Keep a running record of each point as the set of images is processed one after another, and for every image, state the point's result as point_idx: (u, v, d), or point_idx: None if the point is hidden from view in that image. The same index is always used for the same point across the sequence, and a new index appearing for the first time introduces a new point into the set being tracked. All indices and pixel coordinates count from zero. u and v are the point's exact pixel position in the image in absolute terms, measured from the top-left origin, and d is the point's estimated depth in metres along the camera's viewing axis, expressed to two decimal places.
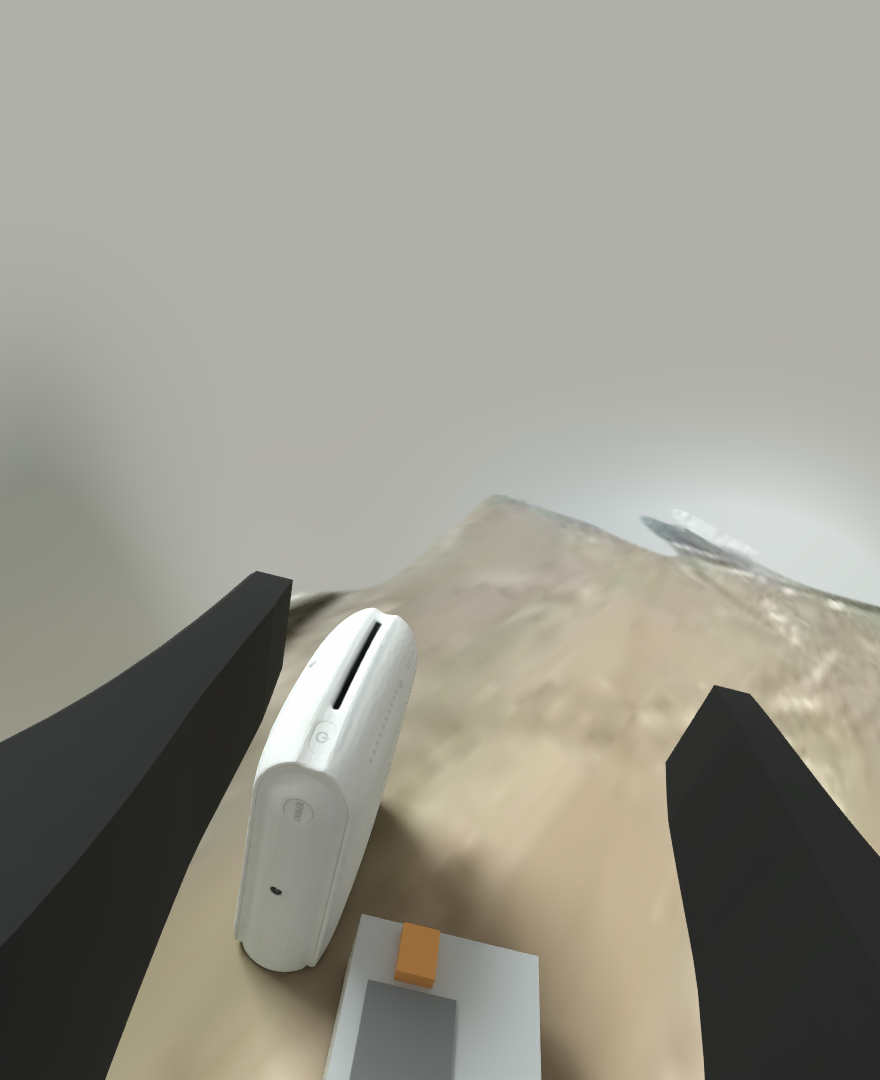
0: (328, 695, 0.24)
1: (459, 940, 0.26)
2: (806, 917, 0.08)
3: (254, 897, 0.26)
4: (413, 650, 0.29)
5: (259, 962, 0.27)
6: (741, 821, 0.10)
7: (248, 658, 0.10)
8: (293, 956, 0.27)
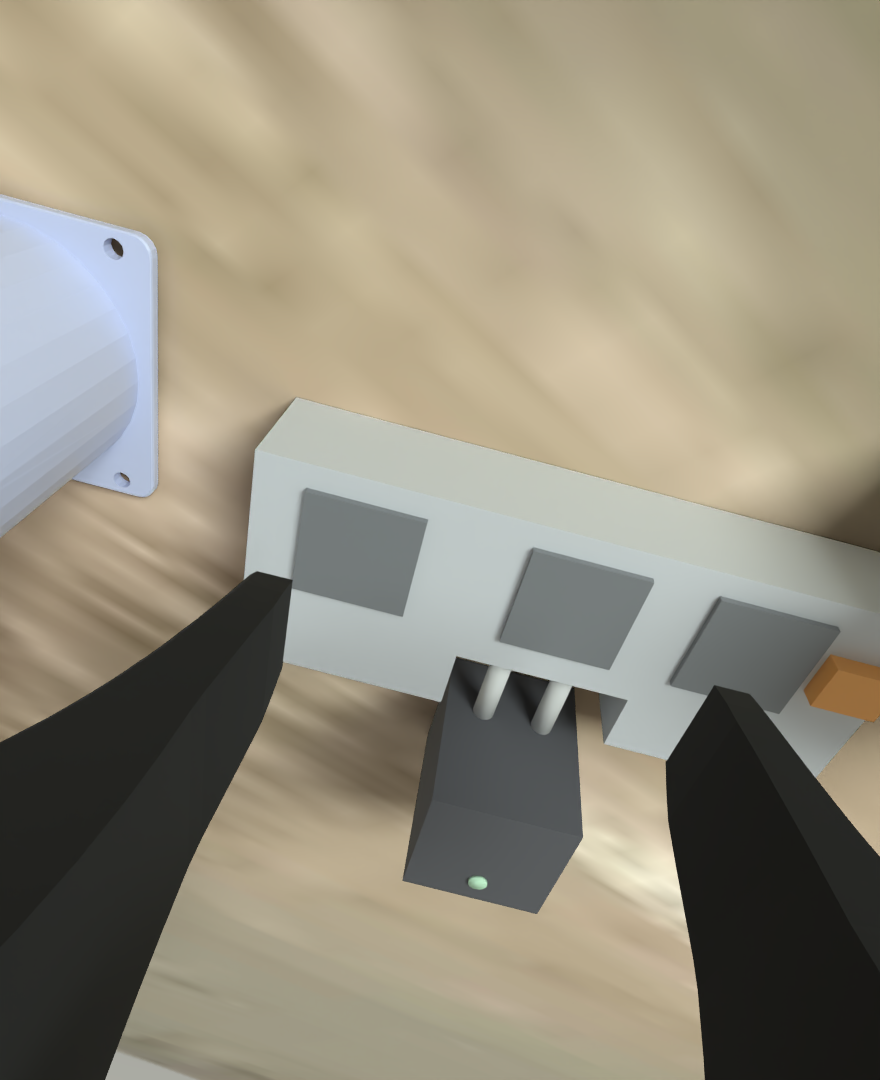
0: None
1: (853, 727, 0.20)
2: (806, 917, 0.08)
3: None
4: None
5: None
6: (741, 821, 0.10)
7: (248, 659, 0.10)
8: None
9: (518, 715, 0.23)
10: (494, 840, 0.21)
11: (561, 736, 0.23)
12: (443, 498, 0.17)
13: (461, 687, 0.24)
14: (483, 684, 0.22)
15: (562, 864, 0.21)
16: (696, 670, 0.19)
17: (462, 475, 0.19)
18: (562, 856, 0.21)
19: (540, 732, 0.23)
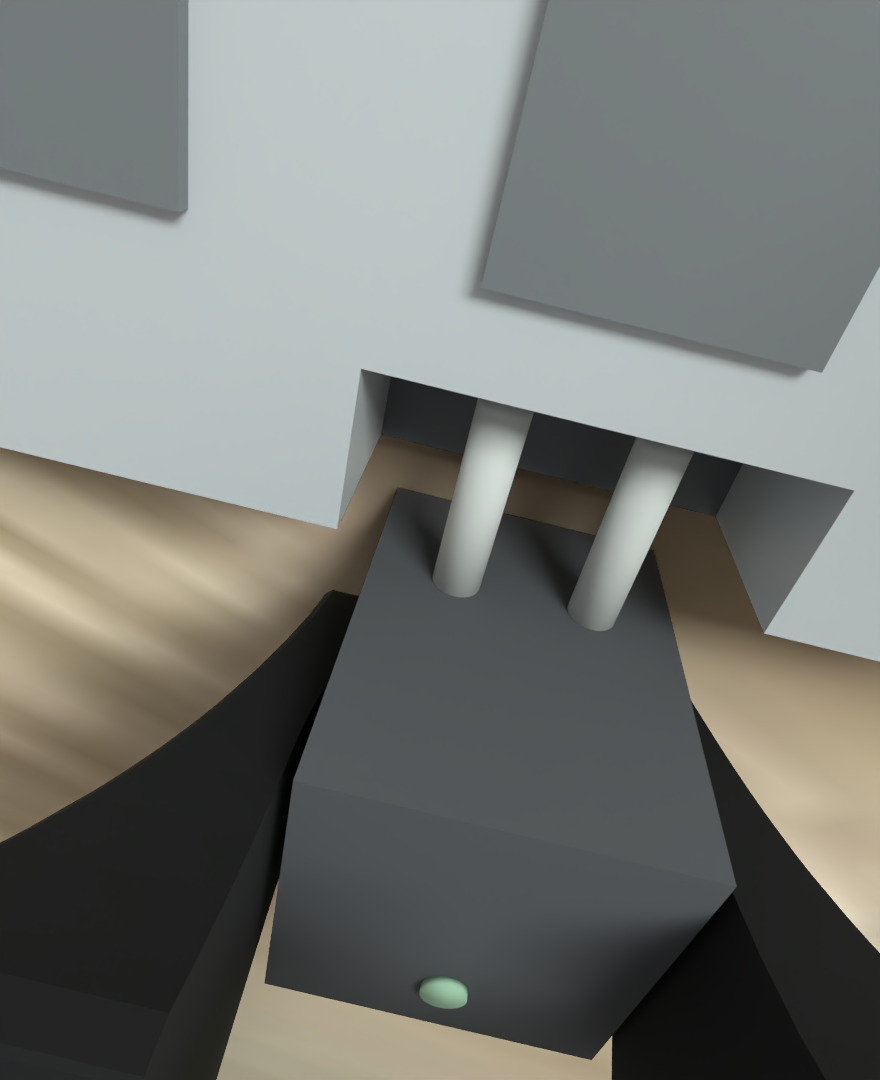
0: None
1: None
2: None
3: None
4: None
5: None
6: None
7: None
8: None
9: (538, 592, 0.10)
10: (480, 892, 0.07)
11: (640, 635, 0.10)
12: None
13: (409, 536, 0.11)
14: (452, 504, 0.09)
15: (667, 955, 0.08)
16: None
17: None
18: (669, 935, 0.07)
19: (591, 625, 0.10)
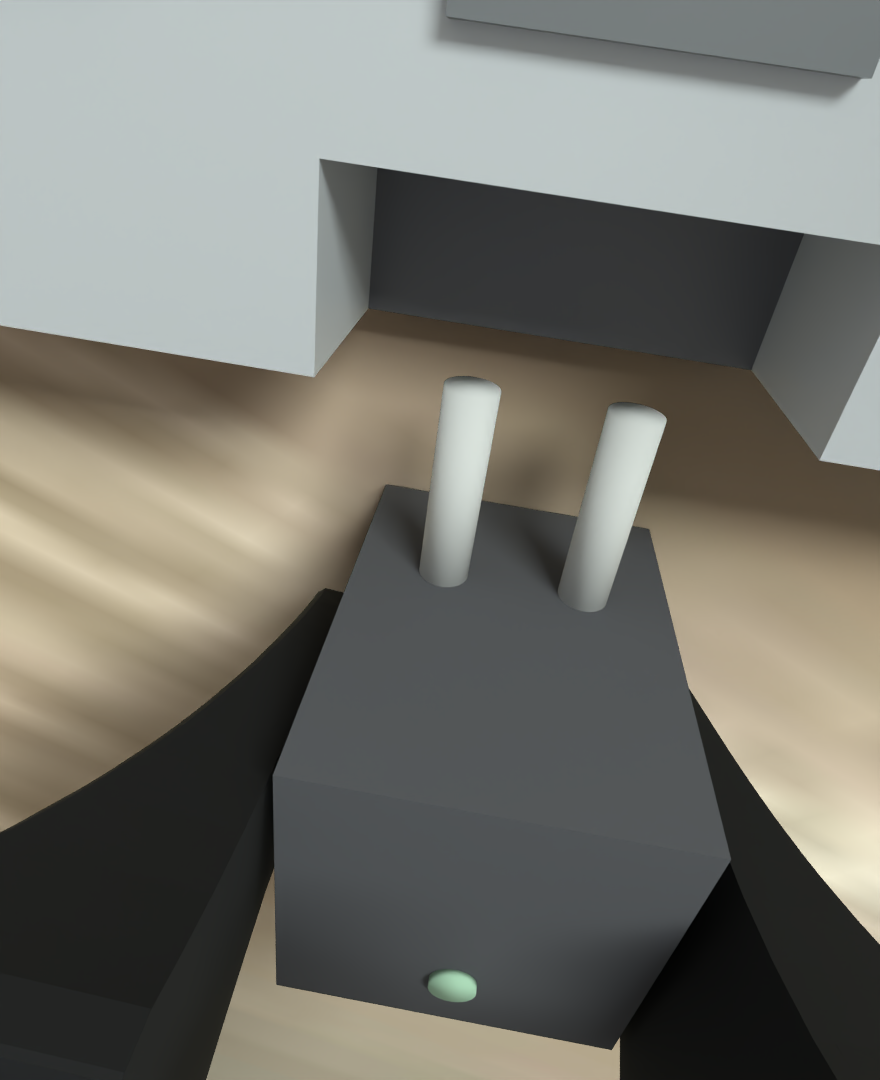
0: None
1: None
2: None
3: None
4: None
5: None
6: None
7: None
8: None
9: (527, 577, 0.10)
10: (474, 880, 0.07)
11: (633, 614, 0.10)
12: None
13: (396, 531, 0.11)
14: (430, 493, 0.09)
15: (671, 935, 0.07)
16: None
17: None
18: (670, 915, 0.07)
19: (582, 606, 0.10)
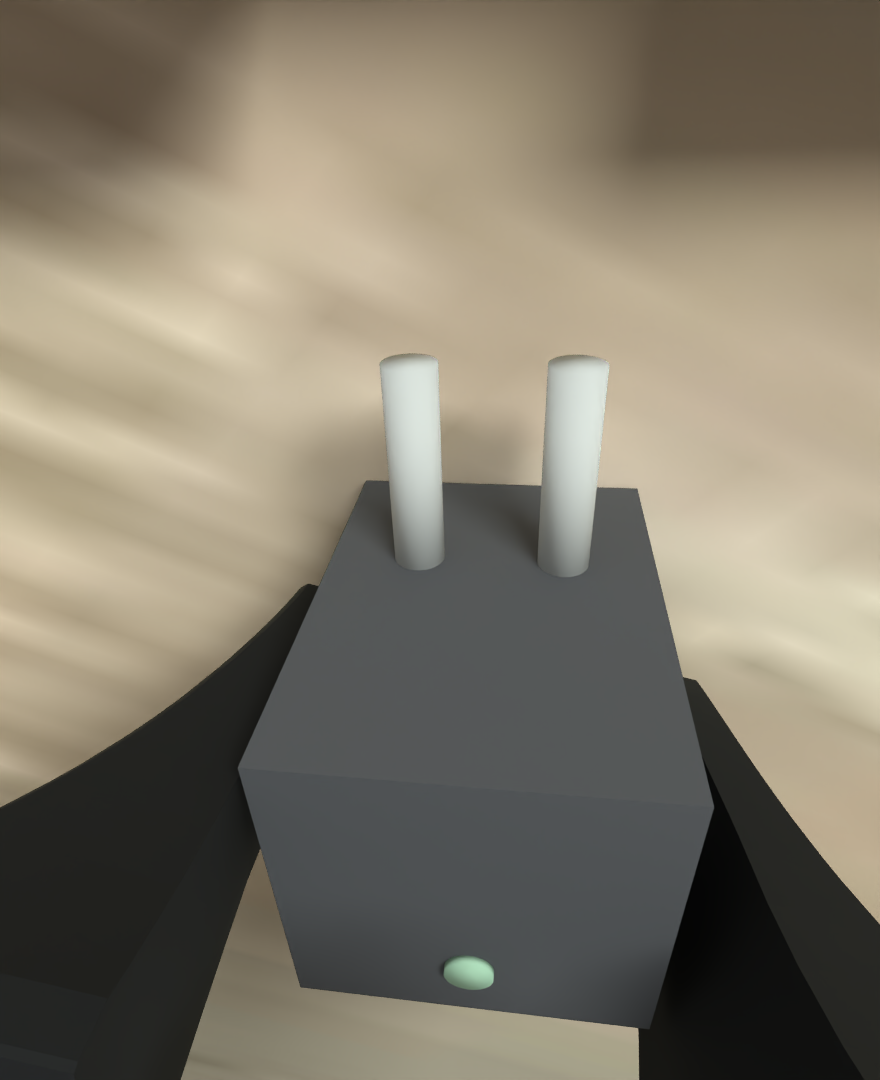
0: None
1: None
2: (731, 898, 0.08)
3: None
4: None
5: None
6: None
7: None
8: None
9: (506, 551, 0.10)
10: (460, 858, 0.07)
11: (616, 573, 0.09)
12: None
13: (374, 523, 0.11)
14: None
15: (675, 897, 0.07)
16: None
17: None
18: (668, 875, 0.07)
19: (562, 572, 0.09)
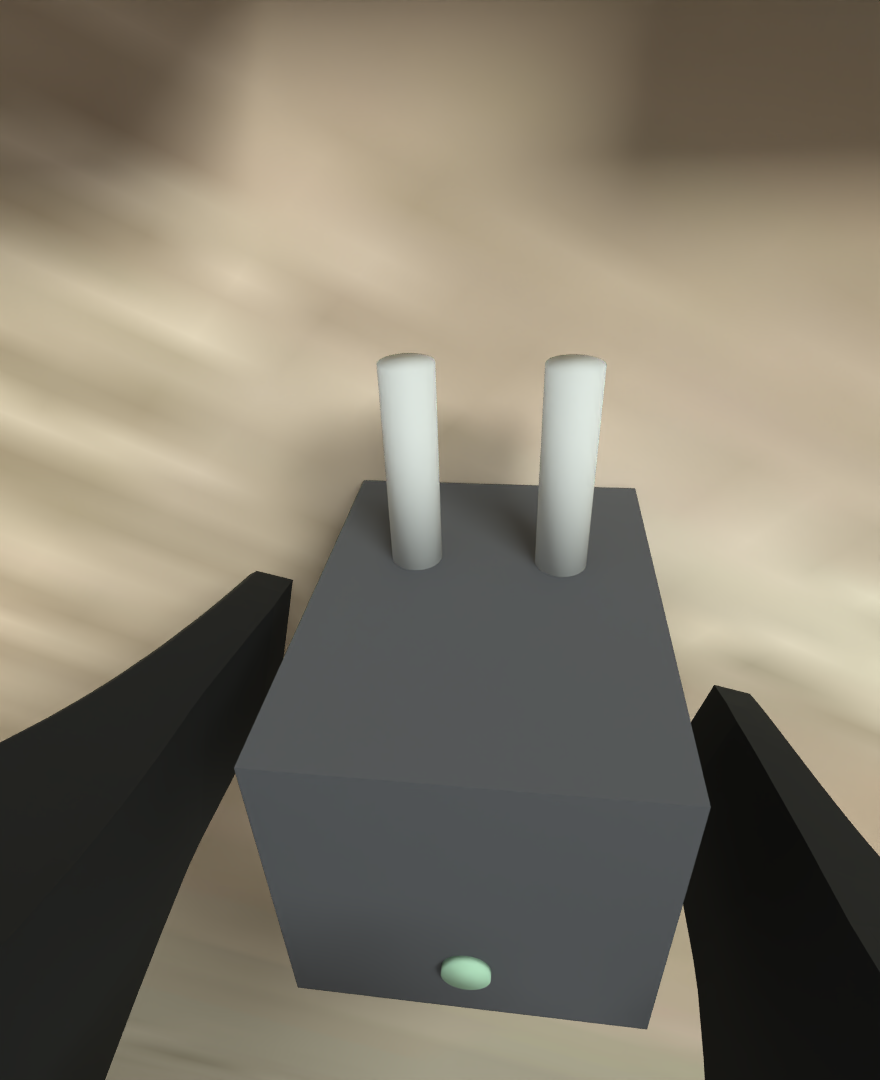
0: None
1: None
2: (806, 917, 0.08)
3: None
4: None
5: None
6: (741, 821, 0.10)
7: (248, 658, 0.10)
8: None
9: (504, 550, 0.10)
10: (456, 857, 0.07)
11: (614, 573, 0.09)
12: None
13: (371, 523, 0.11)
14: (386, 477, 0.09)
15: (672, 897, 0.07)
16: None
17: None
18: (665, 875, 0.07)
19: (560, 572, 0.09)
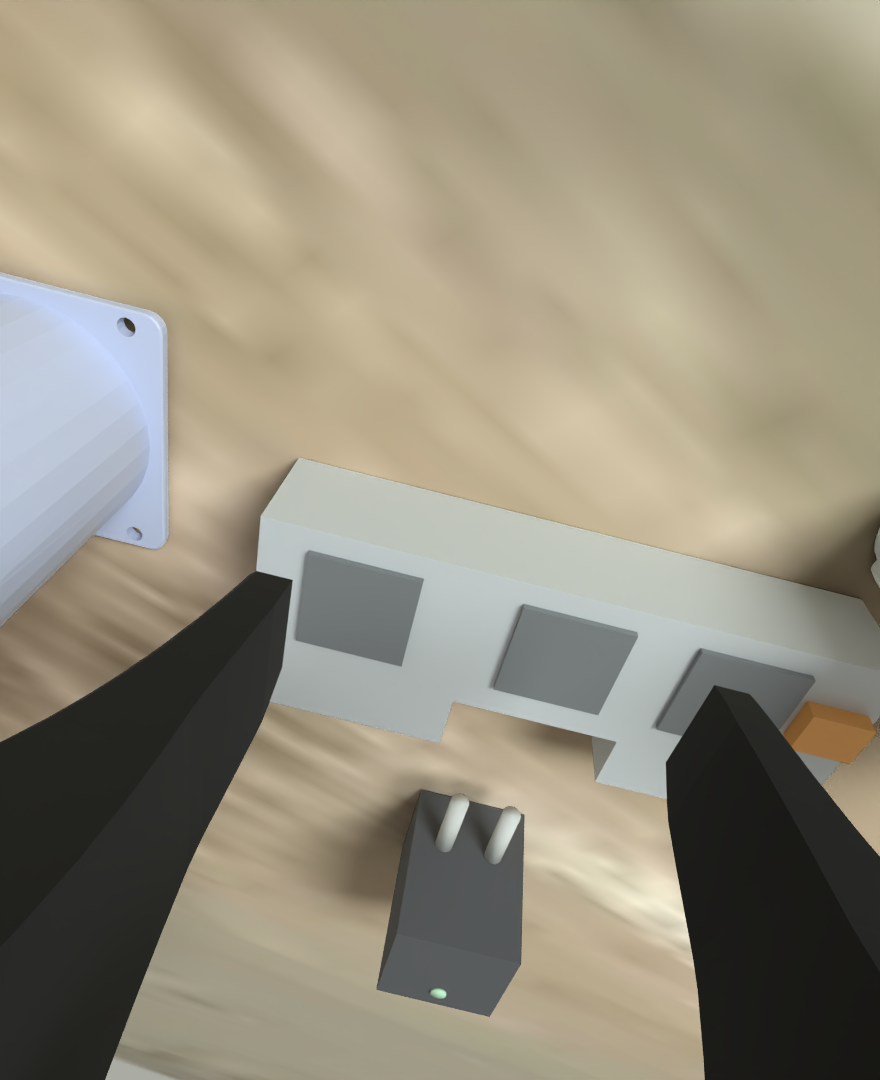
0: None
1: (831, 767, 0.21)
2: (806, 917, 0.08)
3: None
4: None
5: None
6: (741, 821, 0.10)
7: (247, 658, 0.10)
8: None
9: (474, 846, 0.28)
10: (449, 963, 0.25)
11: (509, 865, 0.27)
12: (438, 559, 0.18)
13: (426, 820, 0.28)
14: (442, 825, 0.27)
15: (506, 982, 0.25)
16: (680, 715, 0.20)
17: (455, 534, 0.20)
18: (506, 976, 0.25)
19: (492, 861, 0.27)
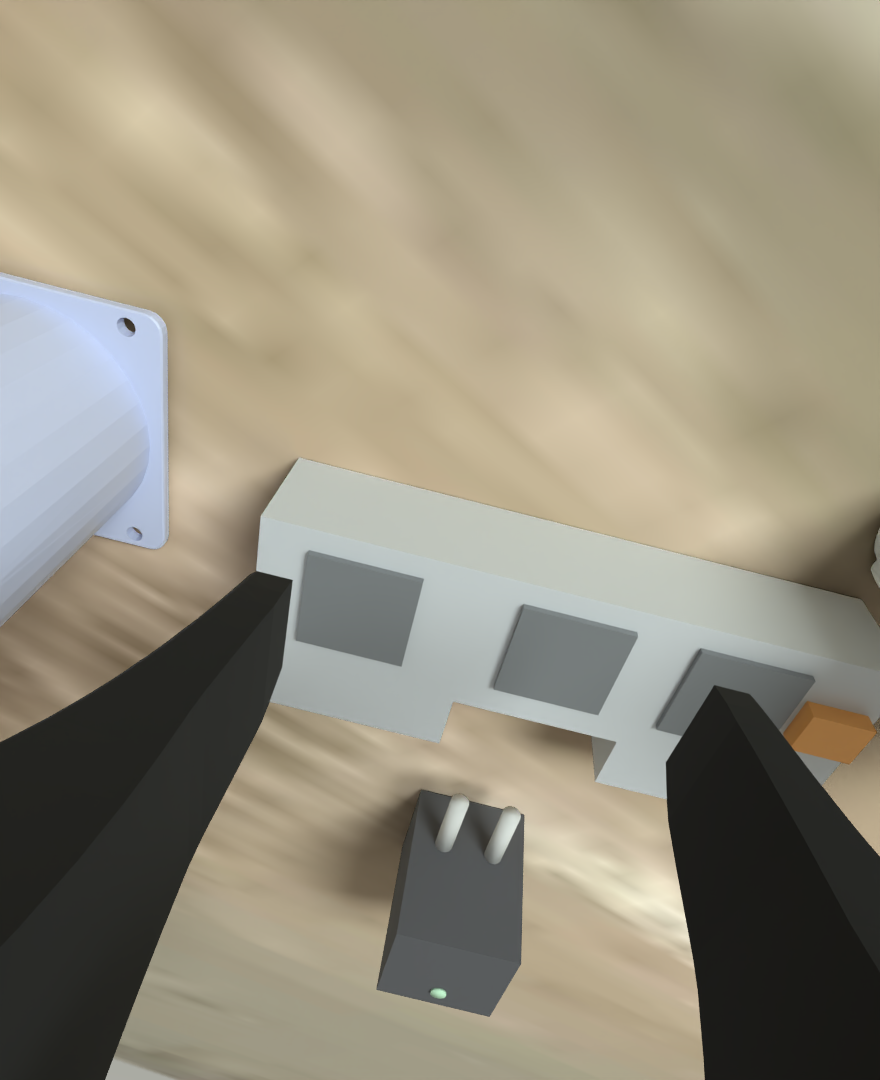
0: None
1: (831, 767, 0.21)
2: (806, 917, 0.08)
3: None
4: None
5: None
6: (741, 821, 0.10)
7: (247, 658, 0.10)
8: None
9: (474, 846, 0.28)
10: (449, 963, 0.25)
11: (509, 865, 0.27)
12: (438, 559, 0.18)
13: (426, 820, 0.28)
14: (442, 825, 0.27)
15: (506, 982, 0.25)
16: (680, 715, 0.20)
17: (455, 534, 0.20)
18: (505, 976, 0.25)
19: (492, 861, 0.27)
